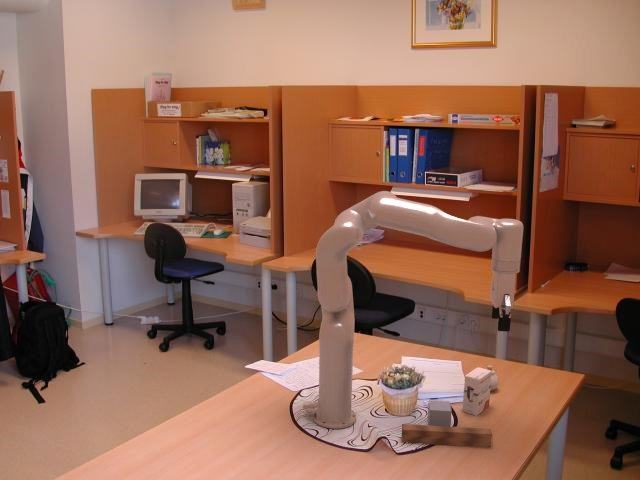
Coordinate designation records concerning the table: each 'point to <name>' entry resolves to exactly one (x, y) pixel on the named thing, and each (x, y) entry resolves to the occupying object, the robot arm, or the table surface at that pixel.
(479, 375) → the ink box
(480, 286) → the table surface
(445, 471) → the table surface
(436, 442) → the board
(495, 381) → the ornament
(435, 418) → the block
